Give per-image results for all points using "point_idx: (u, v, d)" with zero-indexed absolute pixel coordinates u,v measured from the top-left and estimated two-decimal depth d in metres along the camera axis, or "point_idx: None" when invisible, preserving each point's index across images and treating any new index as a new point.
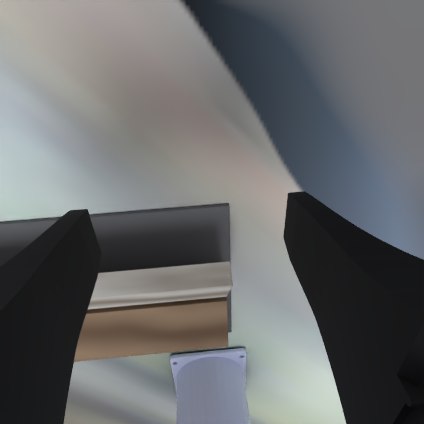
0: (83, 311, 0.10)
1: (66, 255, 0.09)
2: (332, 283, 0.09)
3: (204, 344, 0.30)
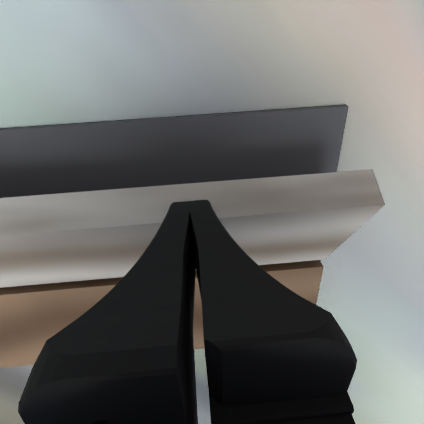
0: (193, 301, 0.11)
1: (188, 245, 0.10)
2: None
3: None
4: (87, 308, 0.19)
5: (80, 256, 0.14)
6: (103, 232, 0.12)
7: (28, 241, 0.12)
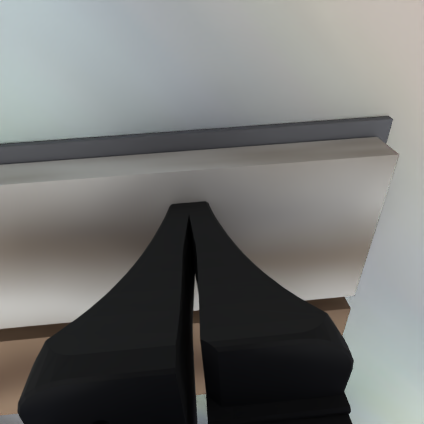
0: (193, 301, 0.11)
1: (187, 245, 0.10)
2: None
3: None
4: None
5: (58, 253, 0.12)
6: (88, 189, 0.10)
7: (2, 204, 0.11)
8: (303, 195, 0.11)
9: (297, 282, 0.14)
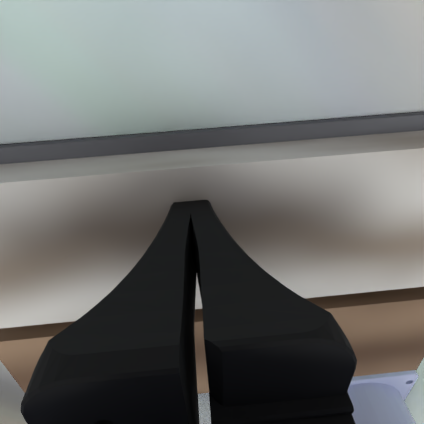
0: (194, 301, 0.11)
1: (189, 244, 0.10)
2: None
3: (382, 367, 0.19)
4: None
5: None
6: (247, 173, 0.11)
7: (163, 188, 0.11)
8: None
9: (415, 268, 0.14)
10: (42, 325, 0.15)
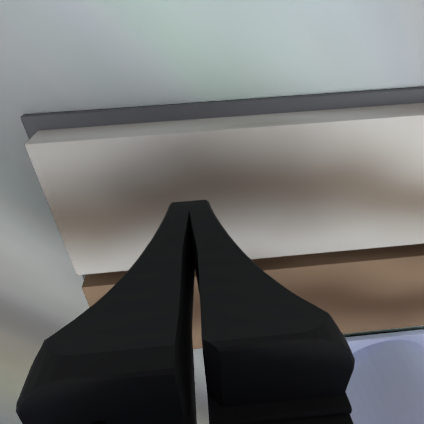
0: (192, 301, 0.11)
1: (187, 245, 0.10)
2: None
3: (415, 320, 0.21)
4: None
5: (278, 190, 0.14)
6: (327, 132, 0.13)
7: (256, 144, 0.13)
8: None
9: None
10: None
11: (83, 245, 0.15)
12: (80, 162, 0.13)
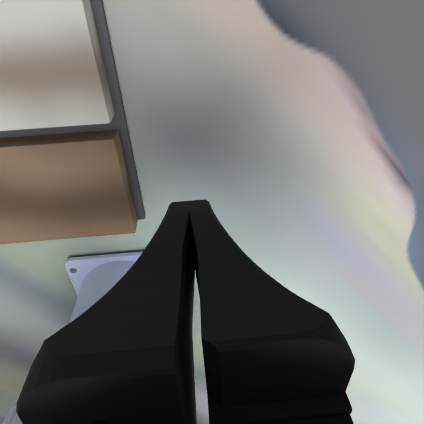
0: (192, 301, 0.11)
1: (187, 245, 0.10)
2: None
3: (98, 227, 0.21)
4: None
5: None
6: None
7: None
8: None
9: (49, 103, 0.16)
10: None
11: None
12: None
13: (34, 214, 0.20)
